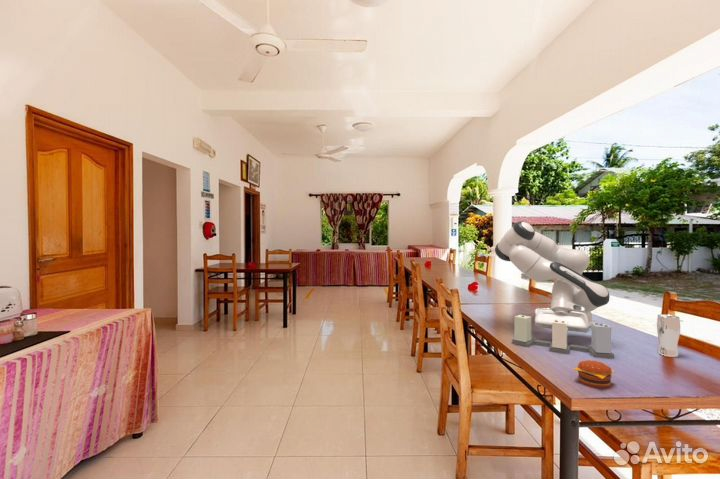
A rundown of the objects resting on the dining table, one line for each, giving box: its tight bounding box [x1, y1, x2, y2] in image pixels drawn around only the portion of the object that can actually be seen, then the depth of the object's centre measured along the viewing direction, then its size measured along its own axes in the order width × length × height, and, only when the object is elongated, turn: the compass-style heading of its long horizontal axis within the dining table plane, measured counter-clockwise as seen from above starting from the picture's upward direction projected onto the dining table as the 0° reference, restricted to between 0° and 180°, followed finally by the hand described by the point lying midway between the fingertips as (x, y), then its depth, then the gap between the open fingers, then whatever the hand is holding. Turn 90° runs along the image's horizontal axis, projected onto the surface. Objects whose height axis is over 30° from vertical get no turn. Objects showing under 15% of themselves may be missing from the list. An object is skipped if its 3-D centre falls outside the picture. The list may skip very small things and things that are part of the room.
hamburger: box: [573, 359, 616, 389], centre depth 117 cm, size 9×10×7 cm
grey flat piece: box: [511, 337, 615, 359], centre depth 150 cm, size 12×36×2 cm, turn 57°
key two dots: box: [551, 320, 568, 349], centre depth 147 cm, size 5×5×10 cm
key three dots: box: [591, 322, 612, 353], centre depth 141 cm, size 5×5×10 cm
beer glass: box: [656, 313, 681, 358], centre depth 141 cm, size 7×7×15 cm
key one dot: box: [513, 314, 532, 342], centre depth 156 cm, size 5×5×10 cm
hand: (560, 337), depth 150 cm, fingers closed
